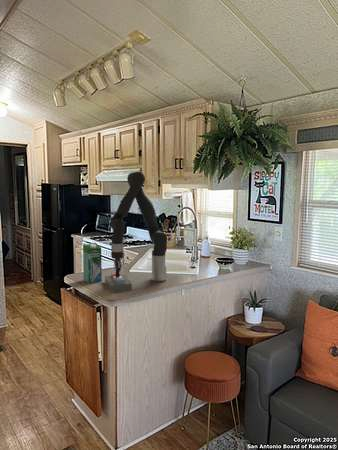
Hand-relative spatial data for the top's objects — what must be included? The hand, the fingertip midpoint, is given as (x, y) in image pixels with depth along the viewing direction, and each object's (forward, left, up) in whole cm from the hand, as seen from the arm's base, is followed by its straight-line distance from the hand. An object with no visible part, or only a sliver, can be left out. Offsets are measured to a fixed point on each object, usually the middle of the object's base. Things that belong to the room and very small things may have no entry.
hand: (117, 277), depth 209 cm
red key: (0, -7, -2) cm, 8 cm away
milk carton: (+14, -16, -6) cm, 22 cm away
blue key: (0, +7, -2) cm, 8 cm away
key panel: (0, 0, -6) cm, 6 cm away
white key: (0, 0, -3) cm, 3 cm away
